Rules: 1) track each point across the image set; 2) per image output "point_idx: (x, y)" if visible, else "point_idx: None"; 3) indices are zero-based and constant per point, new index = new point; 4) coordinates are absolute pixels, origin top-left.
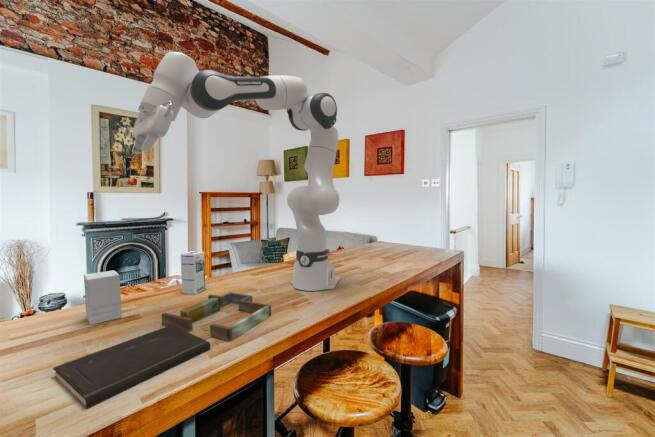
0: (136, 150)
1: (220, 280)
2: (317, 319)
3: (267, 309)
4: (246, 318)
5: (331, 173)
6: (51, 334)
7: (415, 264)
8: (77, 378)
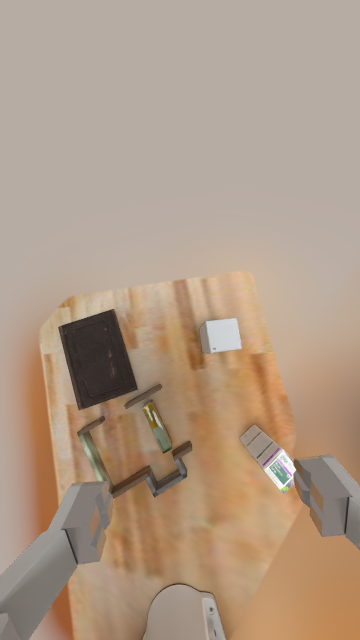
0: (306, 483)
1: (290, 492)
2: None
3: None
4: (90, 458)
5: None
6: (195, 303)
7: None
8: (85, 322)
